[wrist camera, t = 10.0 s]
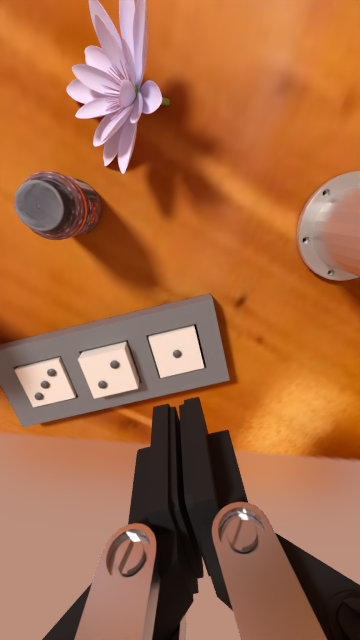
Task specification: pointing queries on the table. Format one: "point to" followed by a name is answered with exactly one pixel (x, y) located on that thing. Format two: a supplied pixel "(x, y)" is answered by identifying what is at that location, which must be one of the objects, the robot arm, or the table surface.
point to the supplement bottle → (57, 205)
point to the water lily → (116, 80)
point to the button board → (108, 331)
